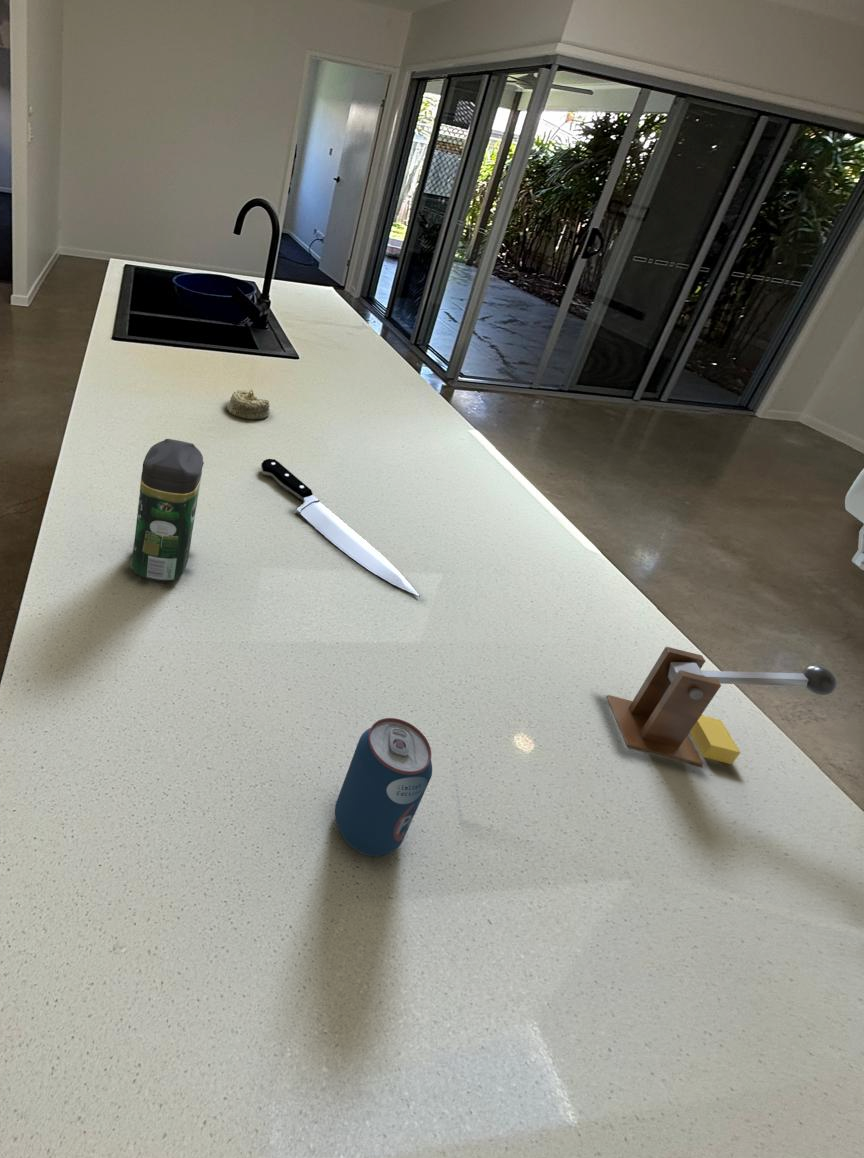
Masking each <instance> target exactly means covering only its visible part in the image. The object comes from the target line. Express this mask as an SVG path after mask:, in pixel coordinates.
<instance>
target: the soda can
mask: <svg viewBox="0 0 864 1158" xmlns="http://www.w3.org/2000/svg"><path fill="white" fill-rule="evenodd" d="M432 776H433V763H432V748H431V745H430V742H429V741H428V739H427V738H426V736H425V735H424V734H423V732H421V730H419V728H417V727H416V726H415V725H413V724H411V723H410V722H408V721H405V720H403V719H400V718H396V717H386V718H381V719H378V720H377V721H375V722H374V723H373V724H372V725H371V727H369V728H368V729H366V730H364V732H363V733H362V734H361V735H360V736H359V739H358V741H357V744H356V747H355V750H354V753H353V756H352V757H351V761H350V764H349V766H348V769H347V772H346V775H345V778H344V780H343V783H342V785H341V788H340V791H339V793H338V797H337V798H336V802H335V805H334V806H335V807H334V816H335V821H336V825H337V828H338V830H339V832H340V834H341V836H342V838H343V840H344V841H345V842H346V843H347V844H348V845H349V846H350V847H351V848H352V849H353V850H355V851H356V852H358V853H360V854H362V855H365V856H367V857H368V856H369V857H379V856H385V855H386V856H387V855H389V854H391V853H393V852H395V851H396V850H397V849H399V847H400V846H401V845H402V844H403V841H404V839H405V837H406V835H407V833H408V830H409V828H410V826H411V824H412V822H413V819H414V817H415V815H416V813H417V809H418V808H419V806H420V804H421V801H422V799H423V796H424V795H425V792H426V790H427V789H428V785H429V783H430V781H431V779H432Z"/></svg>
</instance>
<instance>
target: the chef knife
mask: <svg viewBox="0 0 864 1158" xmlns="http://www.w3.org/2000/svg"><path fill="white" fill-rule="evenodd" d="M260 469H261V474H262V475H264V476H267V477H270V478H272V479H274V480H275V481H276V482H277V484H279V486H280V487H282V488H283V489H285V490H286V491H287V492H289V493H290V494H291V495H293V496H294V497H295V498H296V499H298V500H299V501H300V502H302V504H301V505H300V506H299V507H297V508H296V509H295V513H296V514H297V515H298V516H301V517H302V518H303V519H304V520H305V521H306V522H308V523H309V524H310V525H311V526H312V527H313V528H314V529H316V530H317V531H318V532H319V533H320V534H321V535H323V537H325V538H326V540H328V541H329V542H331V543H332V544H333V545H334V546H335V547H337V549H339V550H341V551H342V552H343V553H344V554H346V555H347V557H349V558H350V559H352V560H354V561H355V562H356V563H358V564H359V565H360V566H361V567H363V568H365V569H366V570H368V571H369V572H370V573H372V574H374V575H376V576H377V577H379V578H381V579H383V580H384V581H386V582H387V583H389V584H391V585H393V586H395V587H397V588H399V589H401V590H403V591H406V592H408V593H410V594H412V595H415V596H417V597H420V594H419V593H418V592H417V590H415V588H414V587H413V586H412V585H411V583H410V582H409V581H408V579H407V578H406V577H405V576H404V575H403V574H402V573H401V572H400V571H399V570H398V568H396V566H394V565H393V564H392V563H391V562H390V561H389V559H388V558H386V557H385V556H384V555H382V554H381V552H379V551H378V550H377V549H375V547H374V546H372V545H371V544H370V543H369V542H367V540H365V539H364V538H363V537H362V536H361V535H360V534H358V533H357V532H356V531H355V530H354V529H353V528H351V527H350V526H349V525H348V524H347V523H345V521H343V520H342V519H341V518H340V517H339V516H337V515H336V514H335V513H334V512H332V511H331V510H330V509H329V508H328V507H327V506H325V505H324V504H323V502H321V501H320V499H319V498H318V497H317V496H315V495H314V493H313V491H312V489H311V488H309V486H308V485H306V484H305V483H303V481H301V480H300V479H299V478H298V477H297V476H295V474H294V473H292V472H291V471H290V470H288V469H287V468H286V467H285V466H284V465H282V463H281V462H279V461H278V460H276V459H275V458H266V459H264V460H263V461H261V463H260Z"/></svg>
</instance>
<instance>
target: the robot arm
mask: <svg viewBox="0 0 864 1158" xmlns="http://www.w3.org/2000/svg"><path fill="white" fill-rule="evenodd" d="M844 498H845V499H844V507H845V508H844V509H845V511H847V513H849V514H851V515H852V516H853V517H854V518H856V519H857V520H858V521H859V522H860V523H862V524H863V525H862V526H861V528H860V530H859V531H858V544H857V550H856V552H855V554H854V556H852V559H851V562H852V563H853V564H854V565H855V566H856V567H858V568H859V569H860V570H861V571H864V467H863V469H862V470H861V471H860V472H859V474H858V475H857V477H856V479H855V480H854V481H853V483H852V485H851V486H850V488H849V489H848V491H847V493H846V495H845V497H844Z"/></svg>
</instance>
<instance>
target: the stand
mask: <svg viewBox="0 0 864 1158" xmlns="http://www.w3.org/2000/svg"><path fill="white" fill-rule="evenodd" d="M671 662H692V663H697V665H698V667H699V668H700V670H701V669H702V668H703V666H704V664H705V663H706V659H705V658H704V656H703V654H698V653H694V652H690V651H686V650H681V649H678V648H674V647H670V646H665V647H664V649H663V650H662V652H661V653H660V655H659V656H658V659H657V660H656V661H655V664H654V665H653V667H652V669H650V671H649V674H648V675H647V677H646V678H645V680H644V682H643V683H642V685H641V687H640V688H639V690H638V692H637V693H636V695H635V696H634V698H633V700H629V699H626V698H621V697H617V696H614V695H611V694H606V695H605V698H606V700H607V702H608V705H609V708H610V709H611V712H612V714H613V717H614V719H615V721H616V724H617V726H618V728H619V732H620V734H621V736H622V738H623V741H624V743H625V746H626V747H628V748H632V749H637V750H641V751H644V752H648V753H651V754H655V755H660V756H663V757H667V758H671V759H674V760H679V761H683V762H687V763H690V764H694V765H699V766H703V765H704V762H703V761H702V759H701V757H700V755H699V754H698V751H697V750H696V747H695V746H694V744H693V741H692V740H691V738H690V736H689V734H690V731H691V729H692V728H693V726H694V725H695V724H696V722H697V721H698V719H699V718H700V716H701V715H703V713H704V712H705V710H706V709H707V707H708V706H709V704H710V703H711V701H712V700H713V699H714V697H715V696H716V694H717V693H718V691H719V690H720V688H721V687H722V684H720V683H719V681H718V680H717V679H713V678H709V677H705V676H701V675H697V674H693V673H689V672H685V671H681V670H679V672H678V673H677V675H676V676H675V678H674V679H673V681H672V683H671V682H670V680H669V678H668V674H669V669H670V663H671Z"/></svg>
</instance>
